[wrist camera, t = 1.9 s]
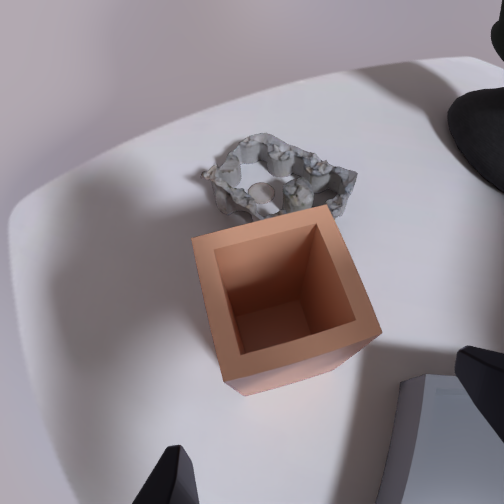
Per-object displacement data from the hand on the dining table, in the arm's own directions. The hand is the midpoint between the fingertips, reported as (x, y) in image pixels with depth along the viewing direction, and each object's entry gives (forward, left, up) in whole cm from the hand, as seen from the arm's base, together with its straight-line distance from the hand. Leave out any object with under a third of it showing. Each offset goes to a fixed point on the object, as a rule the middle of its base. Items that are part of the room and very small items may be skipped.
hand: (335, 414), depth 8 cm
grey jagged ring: (+16, +4, -12) cm, 21 cm away
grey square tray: (-5, -15, -12) cm, 19 cm away
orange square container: (+5, +2, -12) cm, 13 cm away
